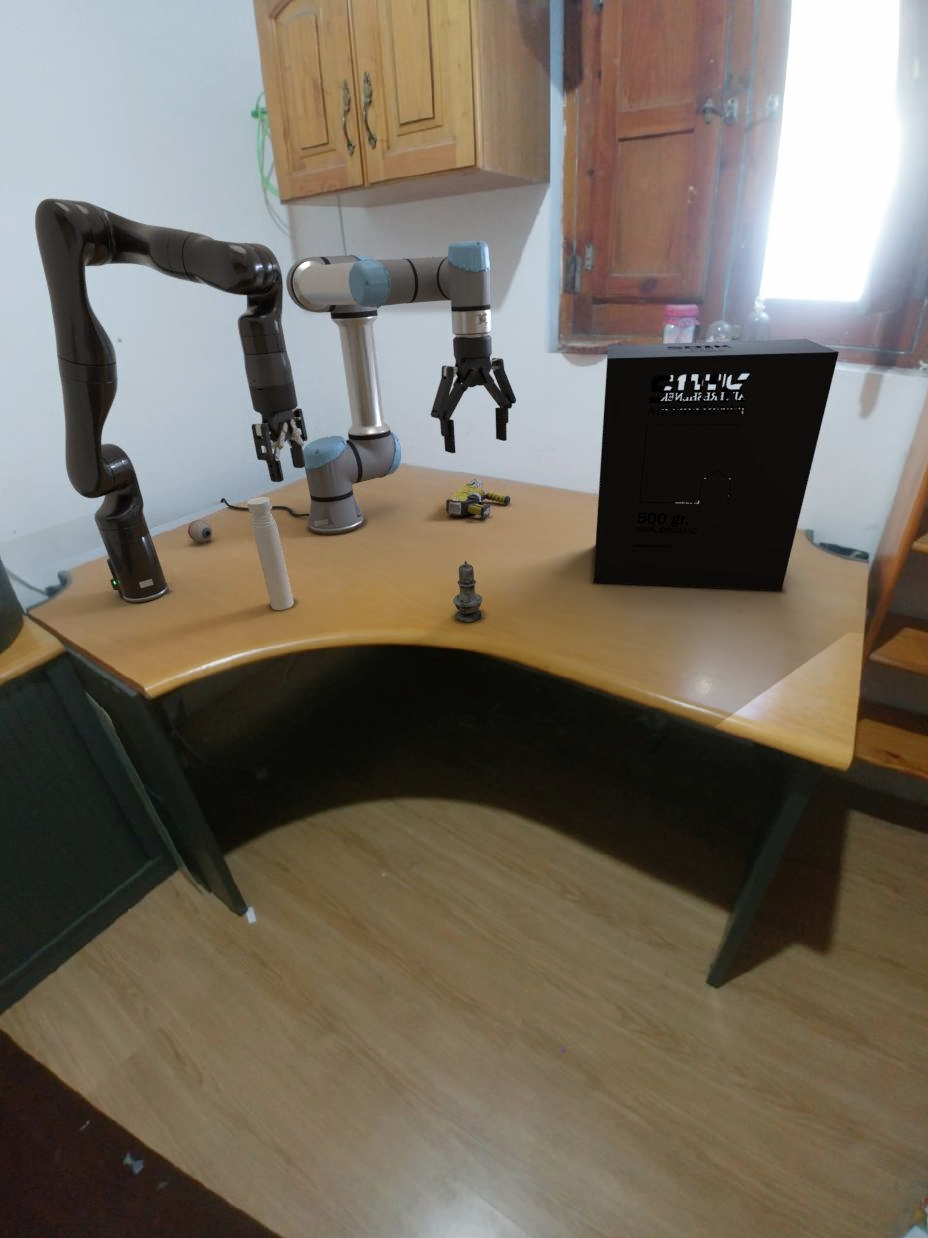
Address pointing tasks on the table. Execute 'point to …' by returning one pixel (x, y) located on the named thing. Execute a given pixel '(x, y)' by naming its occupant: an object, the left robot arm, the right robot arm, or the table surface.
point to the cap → (259, 505)
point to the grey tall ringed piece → (467, 595)
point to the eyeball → (200, 531)
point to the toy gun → (473, 500)
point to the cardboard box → (707, 461)
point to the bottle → (272, 560)
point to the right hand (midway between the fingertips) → (476, 445)
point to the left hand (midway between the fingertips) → (288, 474)
